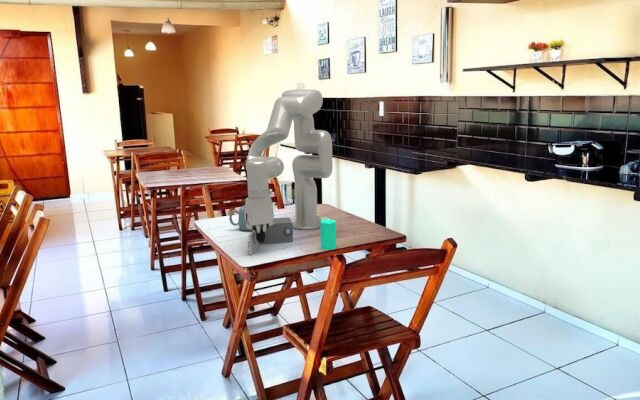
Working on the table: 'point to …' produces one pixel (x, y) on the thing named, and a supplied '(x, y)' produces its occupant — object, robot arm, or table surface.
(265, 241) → the camera body
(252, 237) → the side door
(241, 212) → the mug
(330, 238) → the candle
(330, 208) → the table surface
